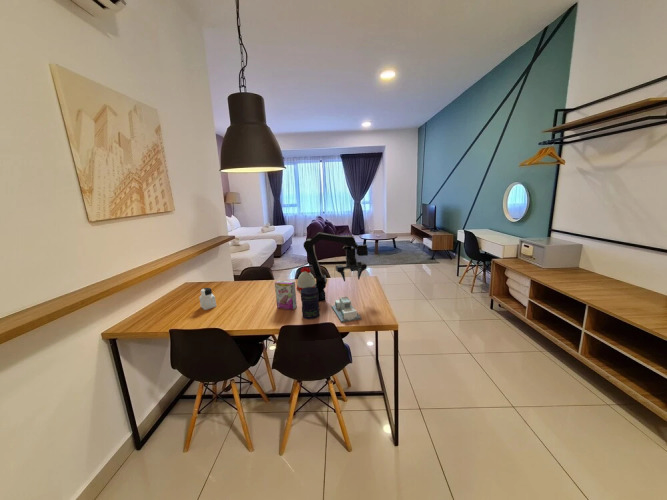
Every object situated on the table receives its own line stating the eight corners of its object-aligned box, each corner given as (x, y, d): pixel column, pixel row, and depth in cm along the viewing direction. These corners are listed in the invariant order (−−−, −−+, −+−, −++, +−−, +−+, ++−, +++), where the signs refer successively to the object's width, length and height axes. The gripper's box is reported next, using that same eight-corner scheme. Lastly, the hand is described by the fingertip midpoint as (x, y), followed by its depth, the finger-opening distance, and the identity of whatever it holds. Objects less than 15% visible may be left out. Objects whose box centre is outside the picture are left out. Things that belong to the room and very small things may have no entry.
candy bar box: (276, 308, 161) (274, 282, 157) (280, 305, 166) (278, 279, 162) (293, 310, 157) (291, 284, 154) (297, 306, 162) (295, 281, 158)
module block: (343, 314, 147) (343, 302, 145) (340, 309, 154) (339, 297, 152) (351, 313, 148) (351, 301, 146) (347, 308, 155) (347, 296, 153)
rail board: (341, 322, 140) (340, 314, 139) (331, 307, 159) (331, 300, 158) (361, 319, 143) (360, 311, 142) (349, 304, 162) (349, 297, 161)
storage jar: (309, 310, 157) (307, 285, 154) (323, 313, 152) (321, 288, 149) (298, 317, 149) (296, 292, 145) (313, 321, 144) (311, 294, 140)
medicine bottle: (212, 303, 173) (209, 285, 171) (216, 306, 168) (213, 288, 166) (200, 307, 168) (197, 289, 166) (204, 310, 163) (201, 291, 161)
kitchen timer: (310, 291, 186) (308, 270, 183) (293, 289, 192) (291, 268, 188) (319, 284, 198) (318, 265, 195) (303, 282, 204) (302, 263, 201)
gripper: (339, 261, 154) (340, 286, 158) (370, 257, 159) (370, 282, 162) (334, 256, 165) (335, 280, 168) (363, 253, 169) (363, 277, 173)
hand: (351, 280), depth 168 cm, fingers open, 9 cm apart
